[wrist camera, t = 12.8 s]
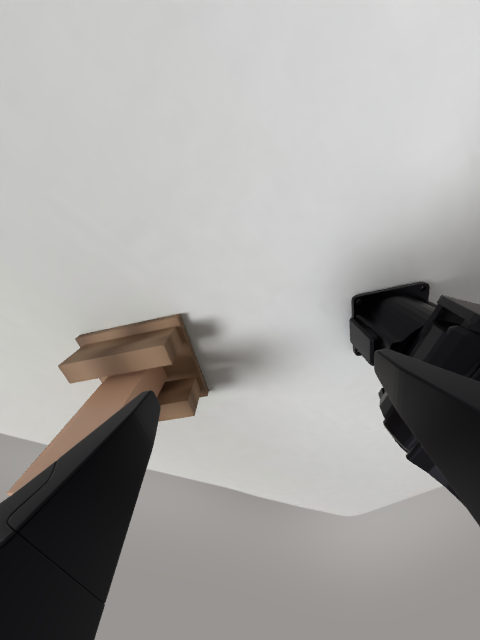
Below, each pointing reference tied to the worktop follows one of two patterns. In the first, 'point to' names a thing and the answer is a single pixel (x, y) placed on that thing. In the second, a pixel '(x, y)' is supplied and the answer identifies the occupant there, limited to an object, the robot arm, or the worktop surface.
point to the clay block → (95, 415)
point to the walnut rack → (143, 361)
